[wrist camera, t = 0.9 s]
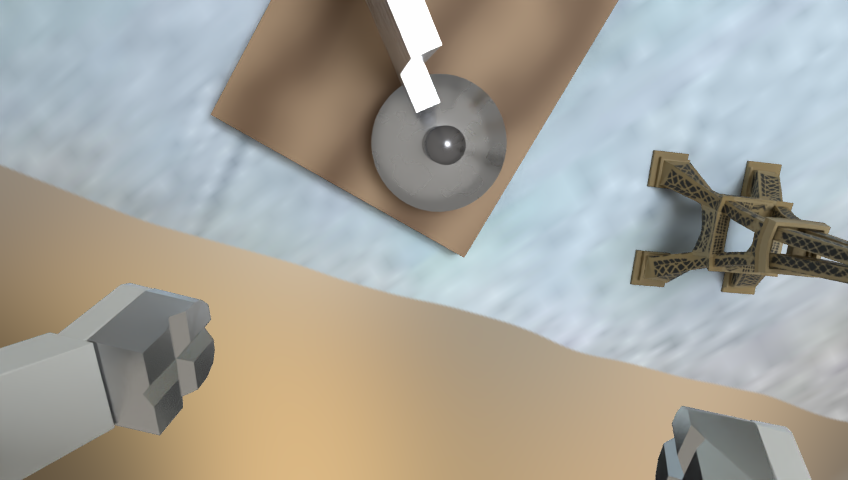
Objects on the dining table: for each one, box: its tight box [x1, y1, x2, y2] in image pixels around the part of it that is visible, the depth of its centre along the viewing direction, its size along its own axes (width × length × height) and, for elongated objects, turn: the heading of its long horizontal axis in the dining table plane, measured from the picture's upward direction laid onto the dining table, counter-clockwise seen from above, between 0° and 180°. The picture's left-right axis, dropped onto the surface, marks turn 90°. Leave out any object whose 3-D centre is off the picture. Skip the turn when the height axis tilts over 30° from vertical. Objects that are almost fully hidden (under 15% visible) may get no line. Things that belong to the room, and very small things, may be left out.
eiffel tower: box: [630, 150, 848, 294], centre depth 34 cm, size 11×11×25 cm
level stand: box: [211, 0, 618, 257], centre depth 35 cm, size 20×25×13 cm
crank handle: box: [366, 0, 507, 212], centre depth 34 cm, size 20×9×12 cm, turn 24°
